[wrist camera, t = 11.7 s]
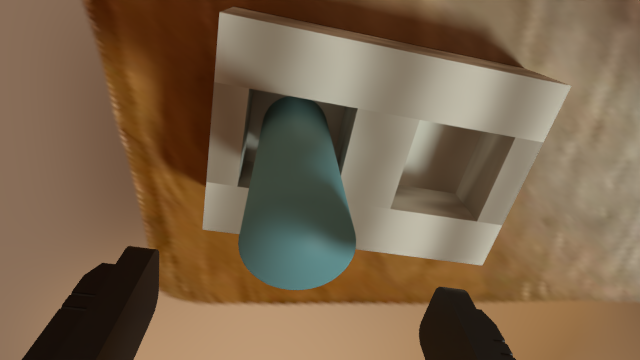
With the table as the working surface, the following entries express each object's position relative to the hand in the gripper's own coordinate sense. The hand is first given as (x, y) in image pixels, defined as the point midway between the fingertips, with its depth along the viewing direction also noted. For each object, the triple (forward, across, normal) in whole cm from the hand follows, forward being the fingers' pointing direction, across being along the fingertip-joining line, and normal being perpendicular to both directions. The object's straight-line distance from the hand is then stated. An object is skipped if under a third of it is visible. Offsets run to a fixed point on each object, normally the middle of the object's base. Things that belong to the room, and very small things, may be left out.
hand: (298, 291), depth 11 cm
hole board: (+15, -4, 0) cm, 16 cm away
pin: (+14, 0, 0) cm, 14 cm away
